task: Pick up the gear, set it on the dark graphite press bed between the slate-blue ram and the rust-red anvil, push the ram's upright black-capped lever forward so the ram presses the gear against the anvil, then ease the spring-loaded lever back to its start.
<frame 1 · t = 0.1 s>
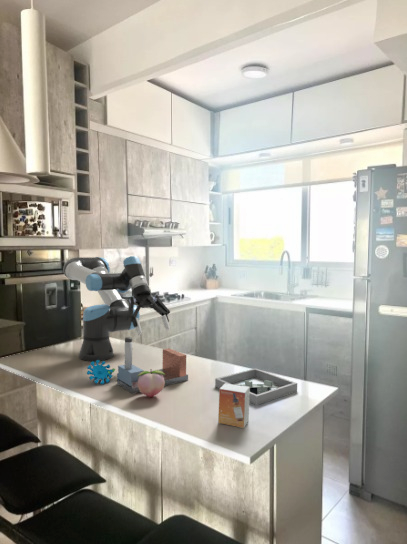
hand: (154, 331, 166), 15 cm above the countertop, tool tilted 35°, fingers open, 13 cm apart
gear: (101, 382, 149), on the countertop
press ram: (130, 359, 143), point 10 cm above the countertop, slide at 0.0 cm
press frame: (153, 381, 149), on the countertop
metal bracket: (257, 392, 142), resting in parts tray
small box: (233, 422, 117), on the countertop
decorative fruit: (150, 397, 135), on the countertop
parts tray: (255, 388, 144), on the countertop
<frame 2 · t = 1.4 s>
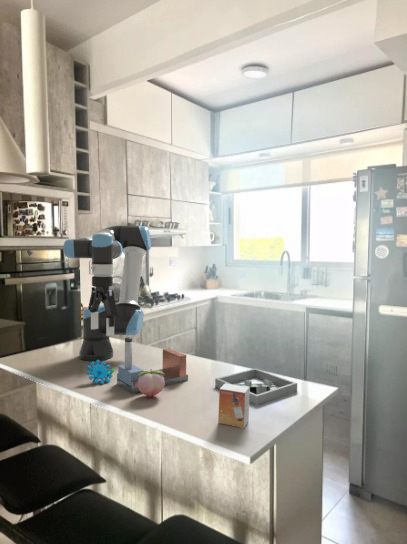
hand: (102, 332, 148), 19 cm above the countertop, tool pointing down, fingers open, 13 cm apart
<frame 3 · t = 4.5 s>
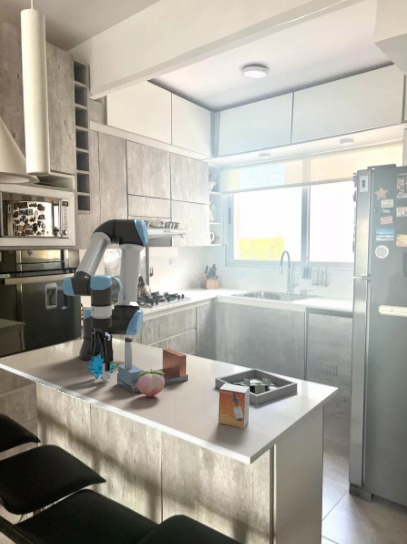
hand: (101, 375, 149), 2 cm above the countertop, tool pointing down, fingers closed on gear, 8 cm apart
gear: (102, 376, 149), point 1 cm above the countertop, touching gripper
metal bracket: (255, 390, 144), resting in parts tray
everything else where it was.
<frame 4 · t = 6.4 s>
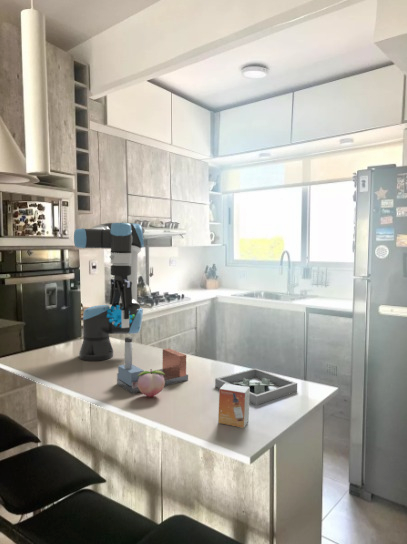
hand: (120, 325, 147), 21 cm above the countertop, tool pointing down, fingers closed on gear, 8 cm apart
gear: (120, 326, 148), point 21 cm above the countertop, touching gripper
everything else where it was.
when the fingers open (3 cm above the countertop, at t = 11.0 s): gear stays where it is, resting on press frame.
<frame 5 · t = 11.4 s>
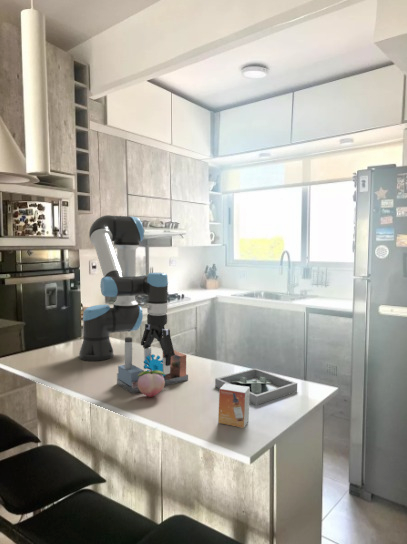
hand: (156, 369, 150), 5 cm above the countertop, tool pointing down, fingers open, 13 cm apart
gear: (156, 376, 150), point 2 cm above the countertop, touching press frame
metal bracket: (252, 388, 146), resting in parts tray
everything else where it was.
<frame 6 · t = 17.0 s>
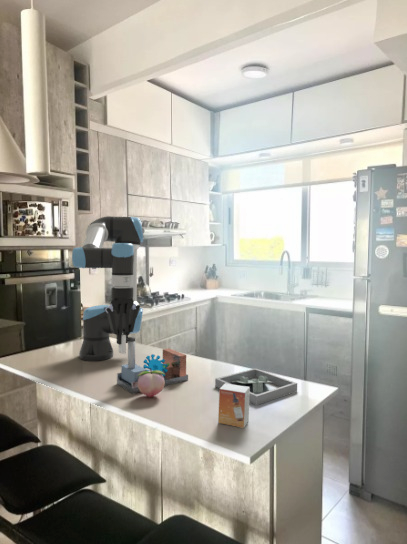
hand: (122, 352, 140), 13 cm above the countertop, tool pointing down, fingers closed
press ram: (134, 358, 143), point 10 cm above the countertop, slide at 1.3 cm, touching gripper
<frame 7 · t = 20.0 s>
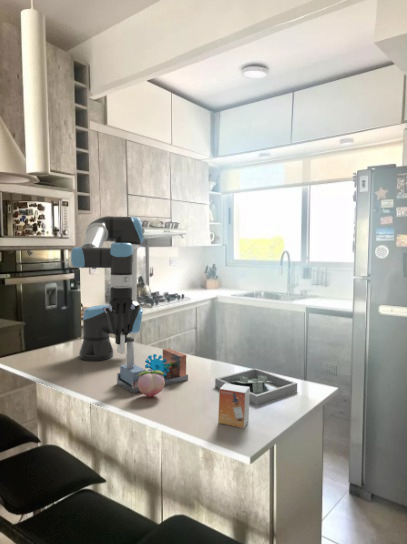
hand: (121, 352, 140), 13 cm above the countertop, tool pointing down, fingers closed
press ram: (132, 359, 143), point 10 cm above the countertop, slide at 0.8 cm, touching gripper
metal bracket: (252, 388, 147), resting in parts tray
everything else where it was.
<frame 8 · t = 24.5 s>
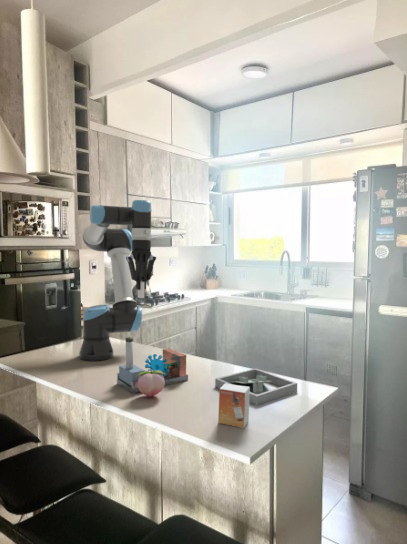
hand: (141, 297, 160), 30 cm above the countertop, tool pointing down, fingers closed
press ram: (131, 359, 143), point 10 cm above the countertop, slide at 0.4 cm
metal bracket: (251, 387, 147), resting in parts tray
everything else where it was.
at the end: gear 0.5 cm from the target spot on the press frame, point 1.8 cm above the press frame's base; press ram slide at 0.4 cm; gear tilted 0° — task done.
